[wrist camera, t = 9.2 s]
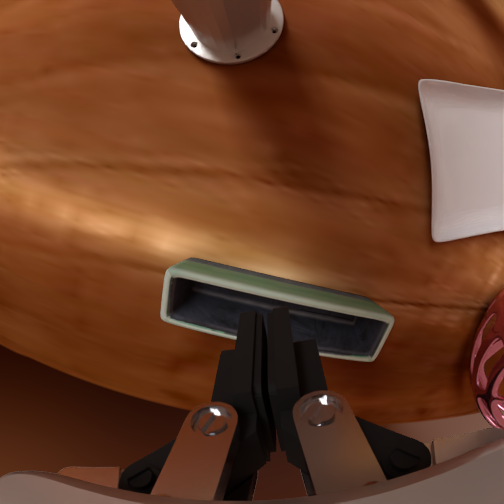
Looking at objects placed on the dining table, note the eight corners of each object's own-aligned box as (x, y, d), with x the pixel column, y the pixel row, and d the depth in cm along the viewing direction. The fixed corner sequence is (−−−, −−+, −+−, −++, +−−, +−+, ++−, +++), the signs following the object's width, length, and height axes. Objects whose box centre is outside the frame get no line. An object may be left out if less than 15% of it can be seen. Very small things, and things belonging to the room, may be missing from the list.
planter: (379, 292, 39) (397, 318, 33) (360, 334, 42) (374, 364, 35) (181, 246, 38) (165, 267, 32) (174, 294, 41) (158, 321, 34)
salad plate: (421, 238, 37) (433, 245, 34) (405, 82, 30) (417, 77, 27) (516, 221, 35) (529, 227, 32) (509, 94, 28) (522, 93, 25)
